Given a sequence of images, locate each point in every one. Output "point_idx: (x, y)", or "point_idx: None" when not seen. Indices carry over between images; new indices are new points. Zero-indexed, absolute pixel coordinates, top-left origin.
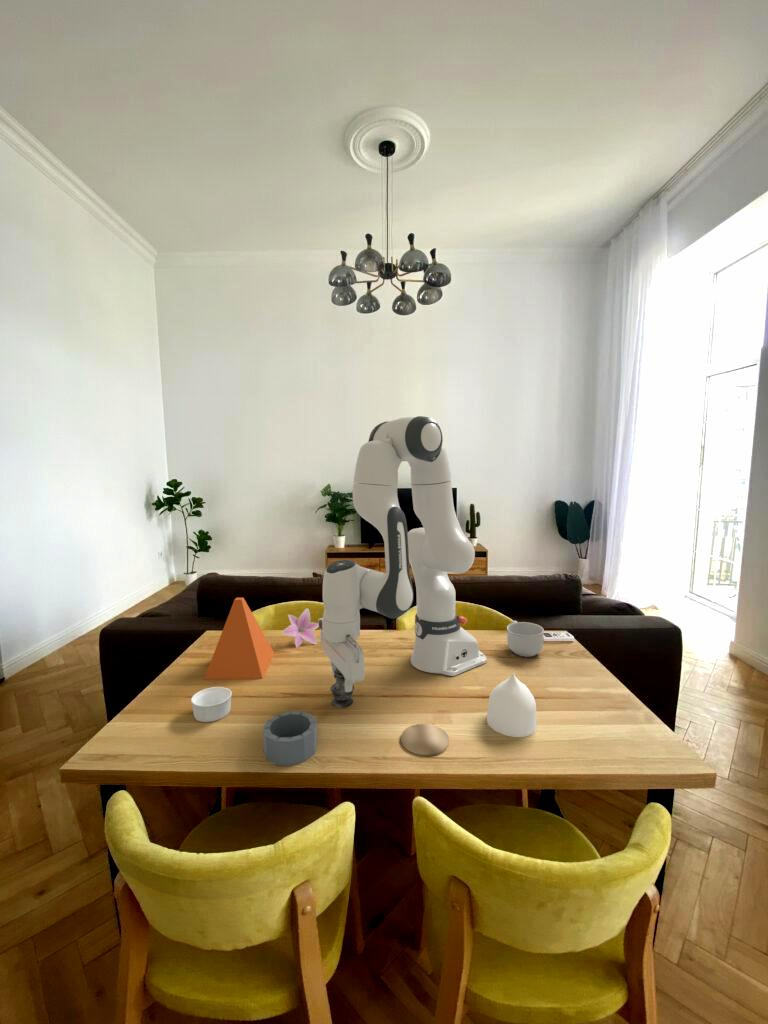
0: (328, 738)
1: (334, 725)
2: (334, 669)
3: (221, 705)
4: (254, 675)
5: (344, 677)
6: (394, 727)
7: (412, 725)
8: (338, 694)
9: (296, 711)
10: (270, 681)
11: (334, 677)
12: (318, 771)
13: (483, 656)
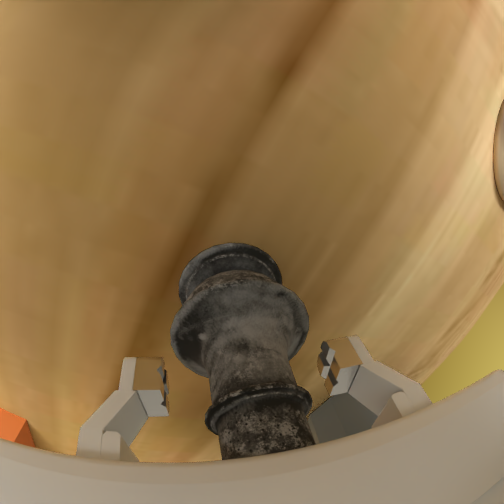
0: (386, 355)
1: None
2: (144, 414)
3: None
4: (25, 433)
5: (374, 427)
6: (470, 180)
7: (501, 138)
8: (288, 359)
9: None
10: (38, 414)
11: (168, 384)
12: (435, 369)
13: None
